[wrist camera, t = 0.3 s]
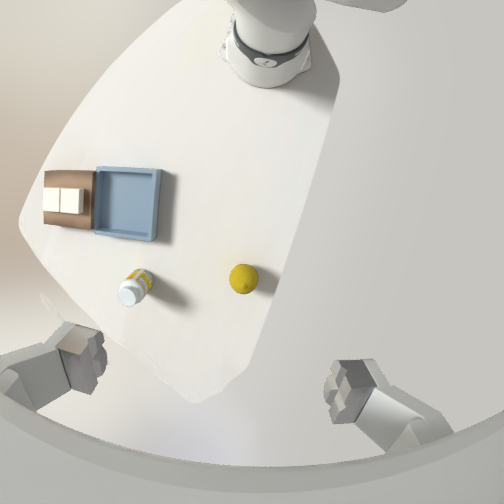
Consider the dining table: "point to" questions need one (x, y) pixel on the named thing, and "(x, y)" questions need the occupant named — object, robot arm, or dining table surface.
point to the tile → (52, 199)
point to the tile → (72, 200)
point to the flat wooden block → (72, 181)
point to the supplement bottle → (135, 287)
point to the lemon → (243, 278)
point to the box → (127, 202)
